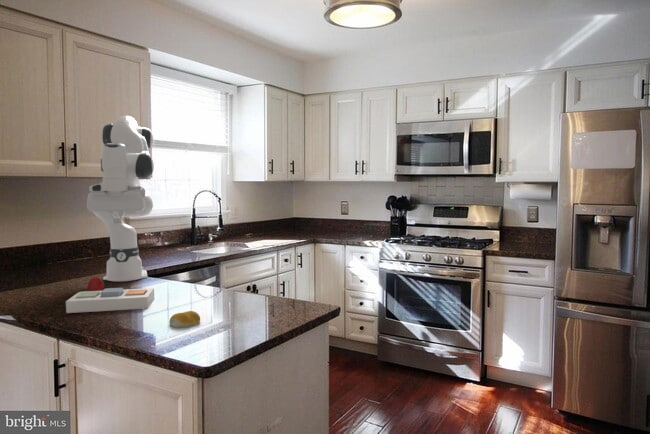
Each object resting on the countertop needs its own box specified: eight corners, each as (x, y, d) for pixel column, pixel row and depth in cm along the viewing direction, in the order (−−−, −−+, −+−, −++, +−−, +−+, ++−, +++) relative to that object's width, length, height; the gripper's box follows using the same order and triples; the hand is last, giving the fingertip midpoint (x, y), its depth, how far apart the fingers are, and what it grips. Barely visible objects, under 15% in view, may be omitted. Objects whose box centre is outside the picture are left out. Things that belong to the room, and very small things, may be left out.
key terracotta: (129, 298, 170) (129, 290, 170) (146, 297, 171) (146, 289, 171) (125, 302, 164) (125, 294, 164) (143, 301, 165) (143, 293, 165)
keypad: (79, 302, 170) (79, 291, 170) (154, 298, 175) (154, 288, 175) (66, 313, 157) (65, 301, 156) (147, 308, 162) (147, 297, 161)
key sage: (82, 300, 167) (81, 292, 167) (99, 299, 168) (99, 291, 168) (76, 305, 161) (76, 296, 161) (95, 304, 162) (94, 295, 162)
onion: (86, 297, 177) (85, 277, 177) (89, 294, 183) (88, 274, 182) (103, 296, 179) (102, 276, 178) (105, 293, 184) (105, 273, 184)
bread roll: (205, 322, 146) (205, 310, 145) (181, 330, 138) (181, 317, 138) (188, 318, 150) (188, 306, 150) (164, 325, 143) (164, 312, 143)
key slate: (105, 296, 168) (105, 288, 168) (123, 295, 169) (123, 287, 169) (101, 300, 162) (100, 292, 162) (119, 299, 164) (119, 291, 163)
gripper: (146, 185, 180) (148, 221, 181) (89, 186, 176) (91, 222, 178) (143, 186, 174) (144, 223, 175) (84, 186, 170) (86, 224, 171)
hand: (117, 223), depth 176 cm, fingers closed
